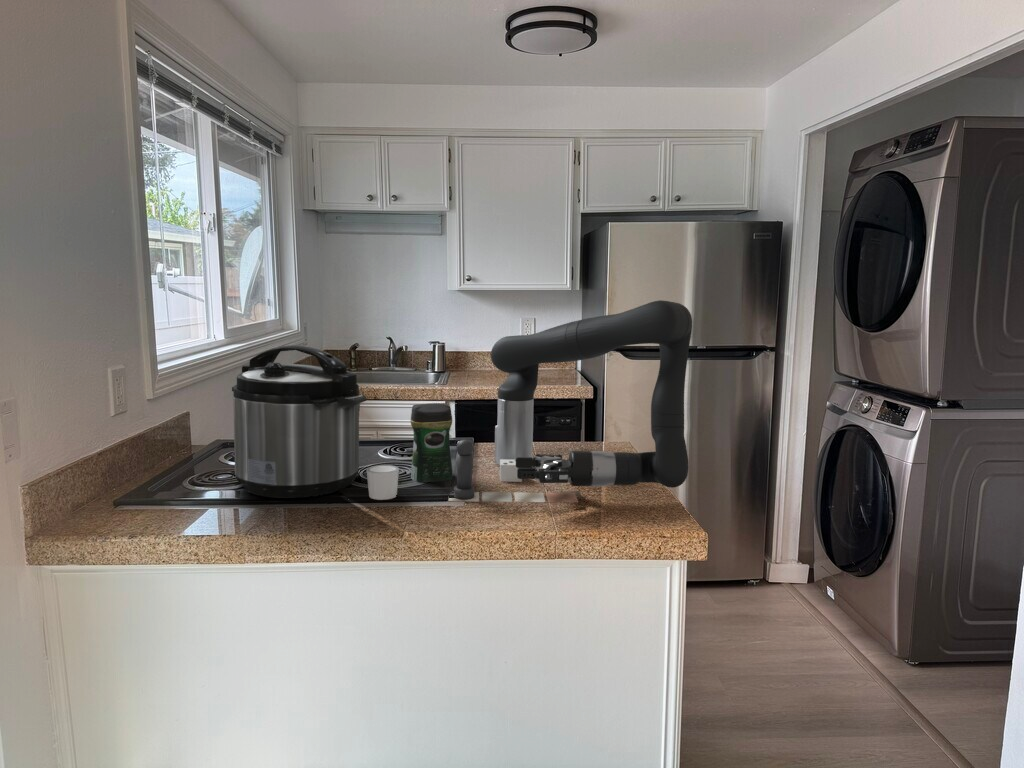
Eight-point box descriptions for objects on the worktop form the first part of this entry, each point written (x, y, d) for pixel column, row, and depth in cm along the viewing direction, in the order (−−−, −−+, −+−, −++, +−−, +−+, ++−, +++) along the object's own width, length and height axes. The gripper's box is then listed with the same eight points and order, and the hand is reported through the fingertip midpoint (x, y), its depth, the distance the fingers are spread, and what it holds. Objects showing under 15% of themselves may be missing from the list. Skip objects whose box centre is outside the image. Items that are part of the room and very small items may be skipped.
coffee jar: (447, 475, 168) (448, 399, 165) (455, 484, 160) (456, 405, 157) (407, 478, 164) (407, 401, 162) (414, 487, 157) (414, 407, 154)
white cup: (405, 498, 149) (405, 466, 148) (387, 507, 143) (386, 474, 142) (379, 493, 152) (379, 462, 151) (360, 502, 146) (359, 470, 145)
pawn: (449, 495, 148) (450, 439, 146) (466, 492, 151) (467, 436, 149) (461, 500, 145) (462, 443, 143) (478, 497, 148) (479, 440, 146)
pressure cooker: (386, 490, 154) (385, 349, 150) (256, 512, 138) (250, 355, 134) (337, 460, 179) (335, 338, 174) (221, 476, 162) (215, 342, 158)
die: (500, 485, 160) (500, 464, 159) (499, 479, 165) (500, 458, 164) (521, 486, 160) (522, 464, 159) (520, 479, 165) (521, 459, 164)
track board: (441, 508, 143) (441, 503, 143) (444, 494, 153) (444, 489, 153) (585, 510, 144) (585, 505, 144) (579, 495, 154) (579, 490, 154)
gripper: (587, 443, 154) (515, 442, 154) (597, 459, 140) (518, 459, 140) (586, 476, 156) (514, 475, 155) (596, 495, 141) (517, 495, 141)
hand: (516, 467), depth 147 cm, fingers open, 8 cm apart
